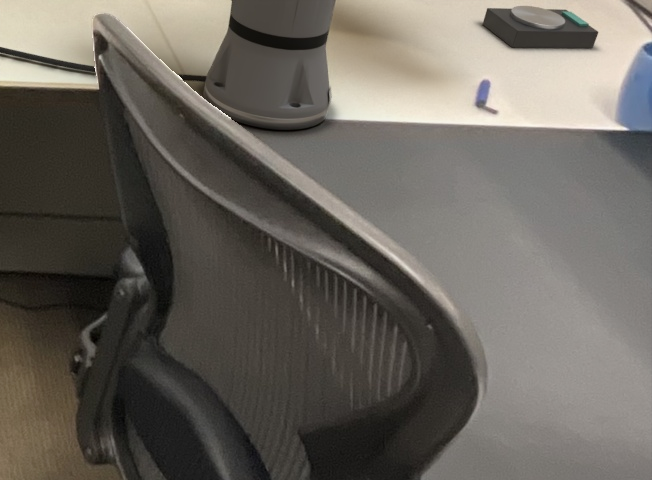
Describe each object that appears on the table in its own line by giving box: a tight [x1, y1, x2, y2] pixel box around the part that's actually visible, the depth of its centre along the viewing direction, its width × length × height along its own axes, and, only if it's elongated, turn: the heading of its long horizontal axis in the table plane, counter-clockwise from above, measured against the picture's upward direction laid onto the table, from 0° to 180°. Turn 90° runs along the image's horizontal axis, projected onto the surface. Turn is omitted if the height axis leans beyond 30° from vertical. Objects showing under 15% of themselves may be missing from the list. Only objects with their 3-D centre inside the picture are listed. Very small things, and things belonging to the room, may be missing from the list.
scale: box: [482, 5, 599, 49], centre depth 164 cm, size 14×9×3 cm, turn 108°
